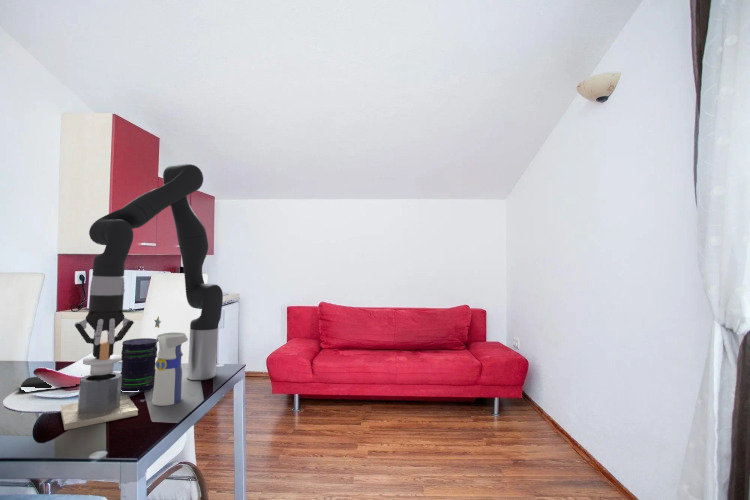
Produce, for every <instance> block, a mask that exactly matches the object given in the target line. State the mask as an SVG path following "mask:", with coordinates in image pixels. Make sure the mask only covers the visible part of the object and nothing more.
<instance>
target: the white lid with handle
mask: <svg viewBox="0 0 750 500" xmlns="http://www.w3.org/2000/svg"><path fill="white" fill-rule="evenodd" d="M108 355H109V343H108V340H100V354H99V359H96V357H94V356H93V355H91V356H88V357H85V358H83V359H82V364H83V365H86V366H90V369H89V375H105V374H110V373H112V372H114V365H115V363H119V362H122V355H120V354H113V355H110V358H108Z"/></svg>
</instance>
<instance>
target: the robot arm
mask: <svg viewBox="0 0 750 500" xmlns="http://www.w3.org/2000/svg"><path fill="white" fill-rule="evenodd" d="M162 181H163V185H162V186H159V187H157V188H154V189H152V190H149V191H147V192H144V193H142V194H141V195H138V196H137V197H136V198H134V199H133V200H131V201H130V202H128V203H127V204H125V205H124V206H123V207H121V208H120V209H117V210H114V211H113V212H110V213H108V214H106V215H104V216H102V217H100V218H98V219H97V220H95V221H94V222H93V223H92V224H91V225H90V227H89V230H88V235H89V238H90V240H91V241H92V242H93V243H95V244H98V245H100V246H101V245H102V246H105V248H104V249H103V252H102V253H100V254H97V255H96V256H95V257H94V259H93V262H92V263H93V265H92V277H91V280H90V281H91V282H90V288H89V289H90V290H89V303H88V313H87V314H86V316H85V319H83V320H81V321H79V322H78V321H77V322H75V323H74V327H75V328H76V330H77V332H79V334H80V336H81V337H82V338H83V340H84V341H85V342H86V343H87V344H90V345H92V346H93V348H92V356H94V357H96V359H99V354H100V341H101V337H102V334H103V333H102V332H104V331H106V333H107V341H108V343H109V355H108V358H110V355H114V345H115V343H117V342H119V341H122V340H123V339H124V337H125V336H126V334H127V333H128V332H129V330H130V329H131V327H132V326H133V325H134V323H135V322H134V321H133V319H129V318H127V317H125V314H124V312H123V310H124V298H125V297H124V296H125V291H126V290H125V267H126V265H125V263H126V260H127V257H128V256H129V252H130V249H131V247H132V245H133V244H132V243H133V242H134V241H133V240H134V230H133V229H137V228H139V229H140V228H141V227H143V226H144V225H146V224H147V223H148V222H149V221H151V220H152V219H153V218H154V217H156V216H157V215H159V214H160V213H161V212H162V211H164V210H165V209H166V208H168V207H170V209H171V212H172V216H173V217H172V218H173V221H174V226H175V229H176V230H175V232H176V236H177V237H176V238H177V242H178V247H179V250H180V255H181V260H182V261H181V263H182V267H183V273H184V283H185V284H184V285H185V286H184V287H185V297H186V300H187V303H188V305H189V306H190V307H191V308H193V309H197V310H198V309H199V310H201V312H200V316H198V317H197V318H194V319H192V320H191V321H190V324H189V345H188V360H187V375H186V378H187V379H188V380H190V381H191V380H192V381H205V380H209V379H213V378H215V377H216V374H217V373H216V372H217V371H216V370H217V358H218V357H217V355H218V354H217V353H218V339H219V337H218V334H219V323H220V322H221V318H222V309H223V300H224V298H223V297H224V294H223V290H222V288H221V286H220V285H218V284H215V283H205V281H204V276H203V265H204V263H205V260H206V257H207V255H208V251H209V242H208V235H207V231H206V227H205V226H204V224H203V223H202V221H201V220H200V218H199V217H198V215H197V214H196V213H195V212H194V210H193V209H192V207H191V204H190V202H189V196H188V195H190V194H193V193H195V192H196V191H198V190H199V189H200V188H202V186H203V183H204V175H203V171H202V170H201V169H200V168H199V167H198V166H197V165H194V164H190V163H189V164H187V163H185V164H171V165H168V166H166V167H165V168H164V169H163V173H162ZM121 323H122V324H121ZM87 324H88V325H89V326H90V327H91V328H92V329H93V330H94V331H93V337H91V336H89V334H88V332H87V331H86V330H85V329H87ZM120 324H121V325H122V328H121V329H120V330H119V331H118V333H117V334H116V331H115V329H117V327H118V326H119V325H120Z"/></svg>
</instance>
